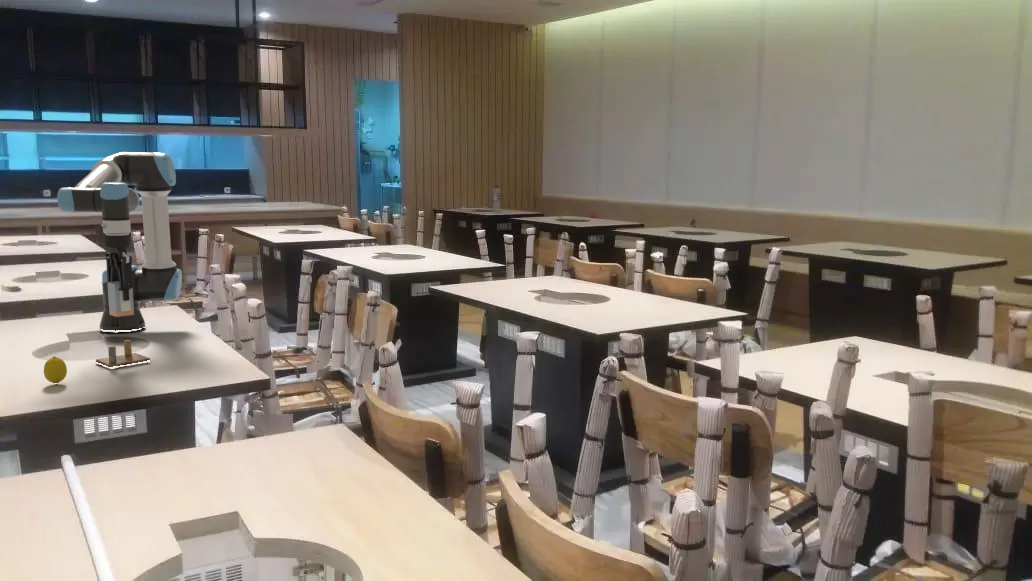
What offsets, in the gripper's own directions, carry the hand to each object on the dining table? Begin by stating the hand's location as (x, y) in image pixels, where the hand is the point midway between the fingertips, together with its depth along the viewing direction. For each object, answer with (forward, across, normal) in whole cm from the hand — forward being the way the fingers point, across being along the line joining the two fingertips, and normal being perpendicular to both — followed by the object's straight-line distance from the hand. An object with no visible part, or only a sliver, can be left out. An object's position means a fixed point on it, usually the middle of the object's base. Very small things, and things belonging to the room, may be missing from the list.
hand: (121, 309), depth 249 cm
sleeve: (+2, 0, 0) cm, 2 cm away
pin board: (+16, +2, -1) cm, 17 cm away
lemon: (+16, +14, -24) cm, 32 cm away
